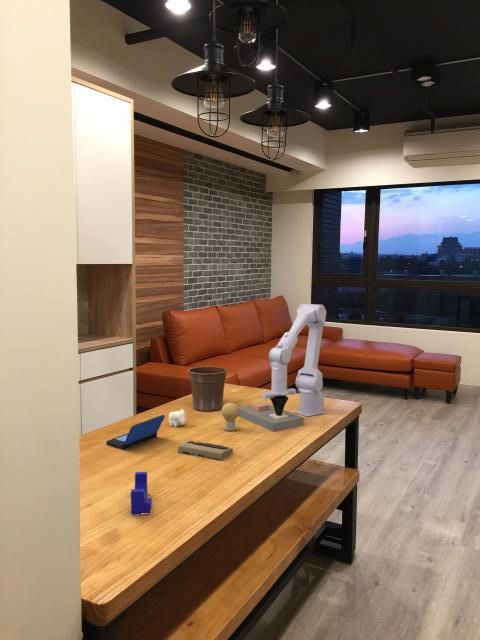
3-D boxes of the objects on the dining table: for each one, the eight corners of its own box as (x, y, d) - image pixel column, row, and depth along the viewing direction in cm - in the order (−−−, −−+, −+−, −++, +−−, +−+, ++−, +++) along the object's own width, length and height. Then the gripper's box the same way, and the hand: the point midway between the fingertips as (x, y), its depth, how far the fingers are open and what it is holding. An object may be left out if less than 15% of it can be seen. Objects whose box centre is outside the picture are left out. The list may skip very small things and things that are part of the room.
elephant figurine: (178, 430, 192) (178, 414, 192) (162, 425, 197) (162, 410, 197) (190, 425, 198) (190, 409, 197) (175, 421, 203) (175, 406, 202)
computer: (233, 453, 170) (233, 443, 170) (221, 462, 163) (221, 452, 163) (190, 446, 177) (190, 436, 177) (177, 454, 170) (177, 444, 169)
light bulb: (239, 427, 196) (240, 400, 194) (238, 433, 189) (238, 405, 188) (222, 426, 196) (222, 400, 195) (220, 432, 190) (220, 405, 189)
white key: (279, 420, 203) (280, 412, 203) (288, 423, 199) (288, 415, 199) (269, 422, 201) (269, 414, 200) (277, 425, 196) (277, 417, 196)
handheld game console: (138, 433, 190) (138, 407, 189) (166, 440, 182) (166, 414, 181) (104, 445, 177) (103, 418, 176) (132, 453, 169) (132, 425, 168)
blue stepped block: (150, 515, 129) (149, 491, 128) (131, 515, 128) (130, 491, 127) (153, 493, 140) (152, 471, 140) (135, 494, 140) (135, 472, 139)
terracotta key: (261, 409, 213) (261, 402, 213) (268, 412, 209) (269, 404, 209) (251, 411, 210) (251, 403, 210) (258, 414, 206) (258, 406, 206)
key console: (265, 410, 219) (265, 402, 218) (303, 425, 199) (303, 417, 198) (236, 415, 211) (236, 408, 211) (273, 431, 191) (273, 423, 191)
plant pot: (193, 401, 231) (193, 365, 229) (229, 403, 229) (230, 366, 227) (184, 412, 215) (183, 373, 213) (223, 414, 213) (223, 374, 211)
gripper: (270, 384, 191) (269, 421, 192) (301, 379, 199) (300, 414, 200) (258, 380, 197) (258, 416, 198) (289, 375, 205) (288, 410, 206)
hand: (278, 415), depth 199 cm, fingers closed, pressing on white key
